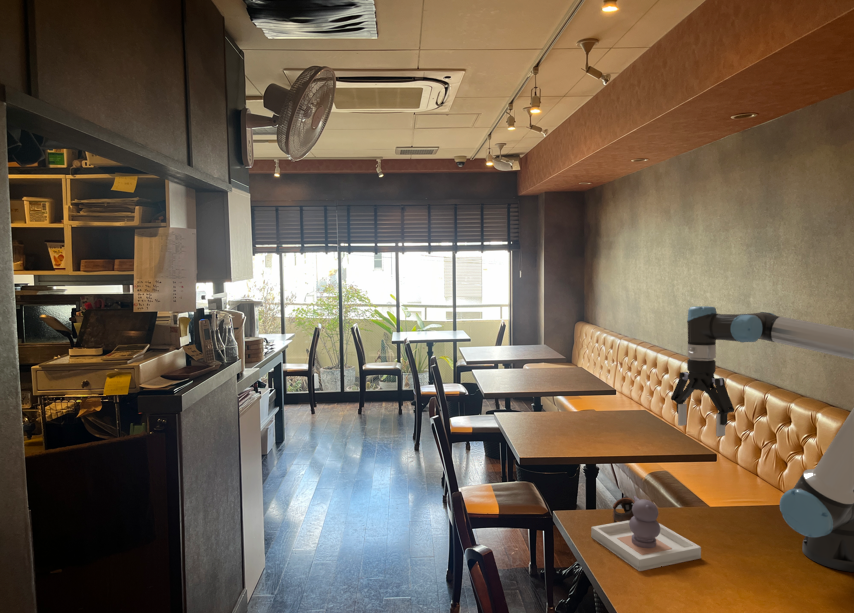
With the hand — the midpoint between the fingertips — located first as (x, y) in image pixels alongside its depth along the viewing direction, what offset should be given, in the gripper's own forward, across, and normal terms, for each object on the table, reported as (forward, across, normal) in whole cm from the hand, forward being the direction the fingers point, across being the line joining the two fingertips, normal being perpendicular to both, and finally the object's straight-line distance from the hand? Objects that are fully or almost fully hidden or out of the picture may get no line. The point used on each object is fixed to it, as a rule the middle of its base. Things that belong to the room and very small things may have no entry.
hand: (700, 430), depth 167 cm
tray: (+29, +3, -24) cm, 38 cm away
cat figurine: (+28, +3, -24) cm, 37 cm away
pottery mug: (+29, -12, -16) cm, 35 cm away
